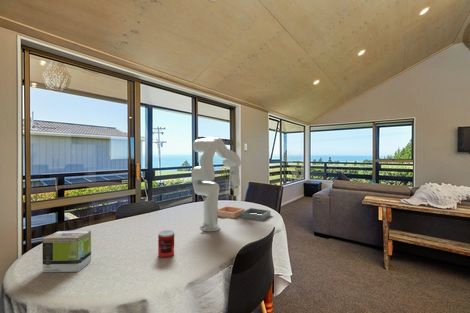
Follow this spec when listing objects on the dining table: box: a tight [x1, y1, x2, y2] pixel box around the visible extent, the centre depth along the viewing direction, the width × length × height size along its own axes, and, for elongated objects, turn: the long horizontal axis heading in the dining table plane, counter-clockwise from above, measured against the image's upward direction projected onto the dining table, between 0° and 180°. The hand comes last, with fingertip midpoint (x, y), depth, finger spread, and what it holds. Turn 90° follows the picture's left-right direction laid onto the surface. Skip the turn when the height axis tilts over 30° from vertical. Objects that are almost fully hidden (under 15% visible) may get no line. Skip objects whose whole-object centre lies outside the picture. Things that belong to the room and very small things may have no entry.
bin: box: [239, 207, 271, 222], centre depth 185 cm, size 18×18×5 cm
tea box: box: [42, 230, 92, 273], centre depth 103 cm, size 15×10×15 cm, turn 92°
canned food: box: [157, 229, 175, 259], centre depth 116 cm, size 8×8×11 cm
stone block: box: [228, 187, 240, 197], centre depth 190 cm, size 6×6×6 cm
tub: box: [218, 205, 246, 219], centre depth 191 cm, size 18×18×5 cm
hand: (233, 194), depth 190 cm, fingers closed on stone block, 6 cm apart
